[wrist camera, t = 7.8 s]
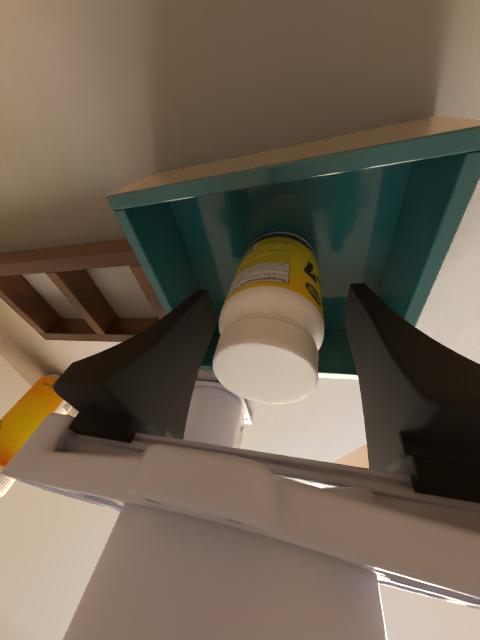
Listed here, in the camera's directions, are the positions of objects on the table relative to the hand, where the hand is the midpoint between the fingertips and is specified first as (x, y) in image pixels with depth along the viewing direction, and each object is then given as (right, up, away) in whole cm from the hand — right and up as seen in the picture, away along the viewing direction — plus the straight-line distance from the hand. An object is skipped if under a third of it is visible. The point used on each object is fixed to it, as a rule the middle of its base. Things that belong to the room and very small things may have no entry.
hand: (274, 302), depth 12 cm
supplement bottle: (+1, +3, +3) cm, 4 cm away
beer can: (-30, -11, +25) cm, 40 cm away
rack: (-15, +2, +8) cm, 17 cm away
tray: (+1, +3, +3) cm, 4 cm away
